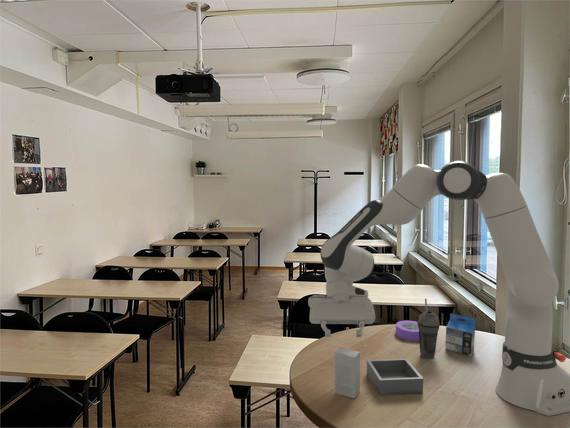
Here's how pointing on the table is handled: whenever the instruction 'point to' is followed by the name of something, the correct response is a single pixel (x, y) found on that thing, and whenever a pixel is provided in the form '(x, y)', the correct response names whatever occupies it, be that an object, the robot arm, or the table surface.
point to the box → (394, 377)
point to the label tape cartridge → (460, 335)
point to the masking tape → (407, 330)
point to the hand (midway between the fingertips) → (343, 336)
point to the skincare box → (347, 372)
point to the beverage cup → (428, 333)
